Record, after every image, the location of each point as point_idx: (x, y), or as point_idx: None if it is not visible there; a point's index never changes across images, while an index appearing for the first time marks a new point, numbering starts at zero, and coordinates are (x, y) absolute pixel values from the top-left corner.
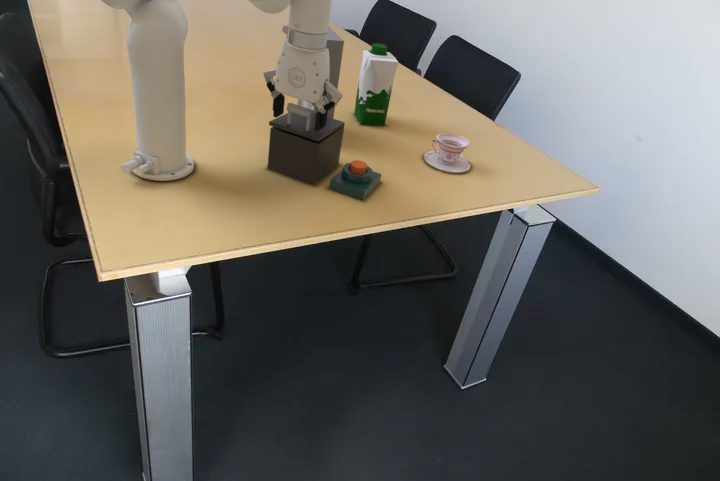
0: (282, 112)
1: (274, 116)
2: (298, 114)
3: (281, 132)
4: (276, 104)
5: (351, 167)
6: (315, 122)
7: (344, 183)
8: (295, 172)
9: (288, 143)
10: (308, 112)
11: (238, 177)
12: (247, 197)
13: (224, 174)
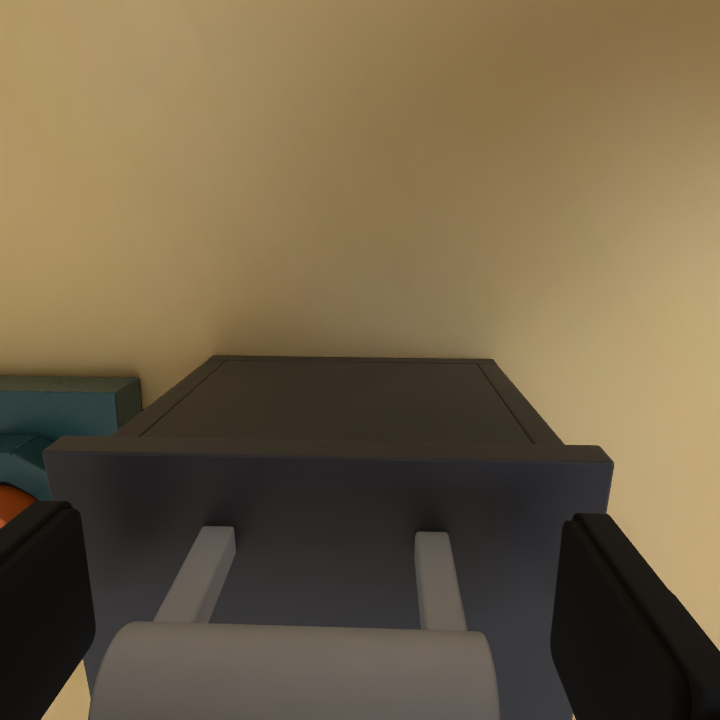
0: (557, 645)
1: (590, 515)
2: (308, 627)
3: None
4: (652, 626)
5: (9, 508)
6: (17, 556)
7: (37, 402)
8: (321, 367)
9: (383, 425)
10: (133, 675)
11: (579, 175)
12: (427, 2)
13: (663, 153)
